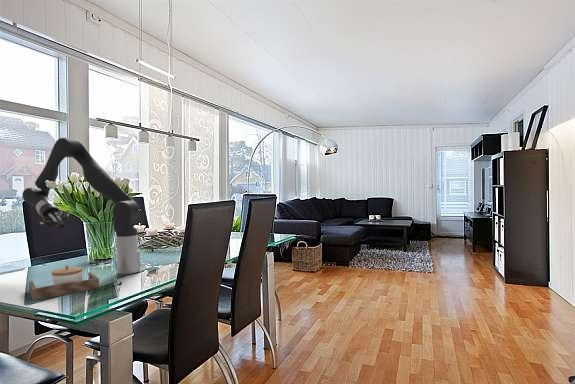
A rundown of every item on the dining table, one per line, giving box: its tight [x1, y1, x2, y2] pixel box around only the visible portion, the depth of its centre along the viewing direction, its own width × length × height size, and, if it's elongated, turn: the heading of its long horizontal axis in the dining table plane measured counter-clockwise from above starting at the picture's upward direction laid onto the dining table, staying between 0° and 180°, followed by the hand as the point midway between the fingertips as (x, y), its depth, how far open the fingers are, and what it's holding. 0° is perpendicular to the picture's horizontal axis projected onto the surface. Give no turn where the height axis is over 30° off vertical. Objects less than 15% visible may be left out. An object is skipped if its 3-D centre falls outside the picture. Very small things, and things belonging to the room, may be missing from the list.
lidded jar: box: [51, 265, 83, 285], centre depth 159 cm, size 11×11×9 cm
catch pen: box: [28, 271, 100, 301], centre depth 158 cm, size 22×15×4 cm
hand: (62, 226), depth 177 cm, fingers closed
